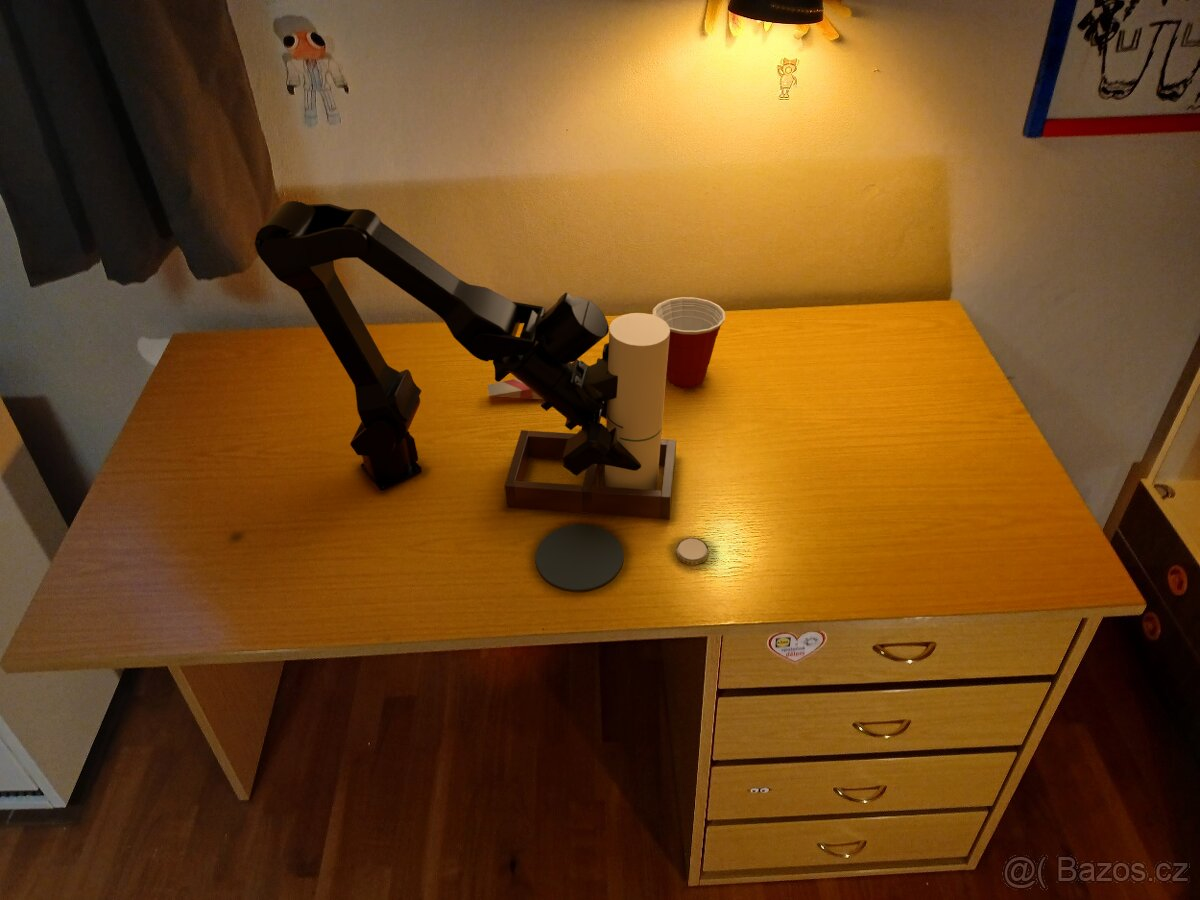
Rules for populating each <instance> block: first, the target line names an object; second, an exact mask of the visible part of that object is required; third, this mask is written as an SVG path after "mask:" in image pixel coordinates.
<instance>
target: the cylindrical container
mask: <svg viewBox="0 0 1200 900" xmlns="http://www.w3.org/2000/svg"><path fill="white" fill-rule="evenodd" d="M669 337H670V328H669V326H668V324H667V323H666V322H665V321H664V320H662V319H661V318H659V317H657V316H654V315H653V314H651V313H644V312H631V313H626V314H622V315H619V316H617V317H616V318H614V319H613V320H612V321H611V322H610V324H609V332H608V343H609V355H608V370H609V372H610V373H611V374H613V375H615V376H618V385H617V398H614V399H611V400H608V401H607V417H606V418H605V420H606V422H605V427H606V428H608V430H609V432H610V431H611V430H612V429H614V428H615V427H616V430H617V440H618V442H620V443H621V444H622V445H623V446H624V447H625V448H626V449H627V450H628V451H629V452H630V453H631V454H632V455H633V456H634V457H635V458H636V459H637V460H638V462H639V463H640V464H641V468H640V469H638V470H637V471H634V470H629V469H624V468H619V467H614V466H608V465H604V478H603V479H604V481H603V482H604V484H603V487H617V488H631V489H646V490H658V479H659V467H660V466H659V457H660V444H661V439H662V429H663V419H664V408H665V395H666V384H667V383H666V382H667V376H666V372H667V360H668V349H669Z"/></svg>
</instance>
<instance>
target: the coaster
mask: <svg viewBox="0 0 1200 900" xmlns="http://www.w3.org/2000/svg"><path fill="white" fill-rule="evenodd" d="M618 539H619V538H617V537H616V536H615V535H614V534H613V533H612V532H611V531H610V530H609V531H608V530H607V529H605V528H603V527H600V526H598V525H593V524H587V523H577V524H575V523H574V524H568V525H565V526H562V527H559V528H557V529H555V530H553V531H551V532H550V533H548V534H547V535H546V536H545V537H544V538H543V539H542V541H540V543H539V544H538V547H537V549H536V551H535V565H536V568H537V571H538V573H539V575H540V576H541V578H543V580H544V581H546V582H547V584H550V585H551V586H552V587H555V588H557V589H560V590H562V591H563V590H564V591H566V592H567V591H569V592H577V593H578V592H580V593H581V592H587V591H593V590H596V589H600V588H601V587H603V586H605V585H607V584H609V583H610V582H611V581H613V580H614V579H615V578H616V576H617V575H618V574H619V573H620V571H621V570H622V568H623V564H624V558H625V557H624V550H623V549H624V548H623V547H622V543H621V542H620V540H618Z"/></svg>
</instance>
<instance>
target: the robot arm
mask: <svg viewBox="0 0 1200 900" xmlns="http://www.w3.org/2000/svg"><path fill="white" fill-rule="evenodd" d="M253 245H254V249H255V251H256V254H257V255H258V257H259V259H261V261H262V262H263V264H264V265H265V266H266V267H267V268H268V269H269V271H270V272H271V273H272V274H273V275H274V277H275V278H276V280H278V281H280V282H281V283H283V284H285V285H287V286H288V287H290V288H292V289H293V290H295V291H297V292H298V293H299V294H300V297H301V298H302V300H303V301H304V303H305V304H306V306H307V308H308V310H309V312H310V313H311V315H312V317H313V318H314V320H315V322H316V323H317V325H318V326H319V328H320V330H321V332H322V333H323V335H324V337H325V338H326V340H327V342H328V343H329V345H330V347H331V348H332V350H333V352H334V354H335V355H336V357H337V358H338V360H339V362H340V364H341V366H342V367H343V369H344V370H345V372H346V374H347V375H348V377H349V378H350V380H351V382H352V384H353V386H354V391H355V400H356V411H357V414H358V416H359V418H360V421H361V422H360V424H359V425H358V428H357V429H356V431H355V433H354V435H353V437H352V439H351V441H350V443H349V446H350V447H351V448H352V449H353V451H354V452H355V454H356V455H357V456H361V457H362V458H361V459H362V461H363V463H361V464H360V469H361V470H362V471H363V472H364V473H365V475H366V476H367V477H368V478H369V479H370V481H371V482H372V483H373V484H374V485H375V486H376V488H378V489H379V491H380V492H381V491H382V492H384V491H386V490H388V489H390V488H393V487H394V486H397V485H398V484H402V483H403V482H405V481H407V480H409V479H411V478H413V477H416V476H417V475H419V474H421V473H422V472H423V468H422V466H421V465H420V464H418V461H419V454H418V449H417V445H416V441H415V438H414V437H413V435H412V434H410V431H409V429H410V427H411V425H412V423H413V420H414V418H415V416H416V414H417V412H418V410H419V407H420V404H421V397H420V395H421V394H422V389H421V388H420V387H418V385H417V384H416V383H415V380H414V378H413V375H412V373H411V370H409V369H404V370H401V371H398V370H397V369H395V368H393V367H392V366H389V364H388V363H387V362H386V360H385V358H384V357H383V355H382V353H381V351H380V350H379V347H378V346H377V343H376V342H375V341H374V339H373V337H372V335H371V333H370V331H369V330H368V327H367V326H366V324H365V323H364V321H363V319H362V317H361V316H360V314H359V312H358V311H357V308H356V306H355V305H354V303H353V302H352V299H351V297H350V296H349V294H348V292H347V290H346V288H345V287H344V285H343V283H342V281H341V280H340V278H339V276H338V274H337V273H336V270H335V269H336V268H335V263H334V261H338V260H341V259H359V260H360V261H361V262H363V263H365V264H366V265H367V266H369V267H370V268H371V269H373V270H374V271H376V272H377V273H378V274H380V275H381V276H383V277H384V278H385V279H387V280H389V282H391V283H393V284H394V285H395V286H397V287H398V288H399V289H401V290H402V291H404V292H405V293H406V294H408V295H409V296H410V297H412V298H414V299H415V300H417V301H418V302H420V303H421V304H422V305H424V307H427V308H428V309H429V310H431V311H432V312H434V313H435V314H436V315H437V316H438V317H440V319H442V321H443V322H444V323H445V325H446V326H447V328H448V330H449V332H450V333H451V335H452V337H453V338H454V339H455V340H456V342H458V343H459V344H460V345H461V347H463V348H464V349H465V350H466V351H467V352H469V354H471V355H472V356H473V357H474V358H476V359H478V360H480V361H482V362H489V361H492V365H493V368H494V380H495V381H496V383H498V382H502V381H503V380H504V379H505V378H506V377H507V376H508V375H509V374H510V375H512V376H513V377H514V378H515V379H516V378H517V379H518V380H520V381H521V382H522V383H523V384H525V385H526V386H527V387H528V388H530V389H531V390H532V391H533V392H535V393H536V394H537V395H538V396H540V397H541V398H542V399H541V402H540V403H541V404H540V407H541V408H542V409H543V410H544V411H546V412H548V411H549V410H550V409H552V408H553V409H554V410H555V411H557V412H558V413H559V414H560V415H562V416H563V417H564V418H565V419H566V421H565V424H564V426H565V427H566V428H567V429H568V430H569V431H573V430H574V429H575V428H576V427H581V429H580V430H579V431H577V433H574V434H575V435H574V436H573V437H571V438H570V439H569V440H567V443H566V447H565V451H564V455H563V460H562V467H563V468H564V469H566V470H567V471H568V472H570V473H571V474H572V475H574V476H576V477H577V476H579V475H580V474H582V473H583V472H584V471H586V470H587V468H588V467H590V466H591V465H593V464H601V466H605V465H608V466H614V467H619V468H624V469H629V470H634V471H637V470H638V469H640V468H641V464H640V463H639V462H638V460H637V459H636V458H635V457H634V456H633V455H632V454H631V453H630V452H629V451H628V450H627V449H626V448H625V447H624V446H623V445H622V444H621V443H620V442H618V440H617V430H616V427H615V428H614V429H612V430H611V431H610V432H609V430H608V428H606V425H604V424H603V423H602V422H601V420H602V418H604V419H606V417H607V401H608V400H611V399H614V398H617V385H618V376H615V375H613V374H611V373H610V372H609V370H608V355H609V342H607V343H604V345H603V349H602V355H601V356H602V358H601V357H598V358H597V359H596V362H595V363H594V364H591V365H589V364H587V363H586V362H584V361H583V360H581V359H580V360H579V358H581V357H582V356H583V355H584V354H586V353H587V352H588V351H590V350H591V348H593V347H594V346H595V345H597V344H598V343H599V342H600V341H602V339H604V338H605V337H606V336H607V335H609V327H610V325H609V323H608V320H607V318H606V316H605V314H604V312H603V311H602V309H601V308H599V306H598V305H597V304H596V303H595V302H594V301H593V300H591V299H590V300H589V299H587V298H584V297H582V296H576V297H573V296H572V295H571V294H570V293H569V292H564V293H563V294H562V295H561V296H560V297H559V298H558V299H557V301H556V303H555V304H554V305H552V306H551V307H550V308H549V309H548V310H547V309H546V308H545V306H542V305H535V304H530V303H524V302H517V301H511V299H509V298H507V297H505V296H503V295H502V294H499V293H498V292H496V291H494V290H492V289H491V288H488V287H485V286H480V285H474V284H470V283H467V282H465V281H463V280H462V279H460V278H459V277H458V276H456V275H455V274H454V273H452V272H450V271H449V270H448V269H446V268H445V267H444V266H442V265H441V264H439V262H437V261H435V260H434V259H433V258H431V257H430V256H429V255H427V254H426V253H424V252H423V251H422V250H420V249H419V248H418V247H416V246H415V245H413V244H412V243H411V242H410V241H408V240H406V239H405V238H404V237H403V236H401V235H400V234H399V233H397V231H394V230H393V229H392V228H391V227H389V226H387V224H385V223H383V222H382V221H381V218H380V217H379V215H378V214H377V213H376V212H374V211H372V210H370V209H366V208H352V209H350V208H345V207H342V206H338V205H335V204H332V203H315V204H313V203H312V204H306V203H304V202H301V201H296V200H291V201H290V200H289V201H285V202H284V203H281V204H280V206H279V207H278V208H277V209H276V210H275V212H274V213H273V214H272V215H271V216H270V218H268V219H267V221H266V222H265V223H264V224H263V225H262V227H261V228H260V229H259V230H258V231H257V232H256V235H255V241H254V243H253ZM546 310H547V311H546ZM521 324H523V326H522V329H521V330H520V331H521V332H520V334H519V336H517V334H518V331H519V328H520V325H521Z"/></svg>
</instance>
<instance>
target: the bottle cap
mask: <svg viewBox="0 0 1200 900" xmlns="http://www.w3.org/2000/svg"><path fill="white" fill-rule="evenodd" d="M675 554H676V557H677V558H678V560H679V561H680V562H682V563H684V564H688V565H699V564H701V563H704V562H705V561H706V560H707V558H708V557H709V546H708V543H706V542H705V541H704V540H703V539H701V538H697V537H686V538H683V539H681V540H680V541H678V543H677V545H676V547H675Z"/></svg>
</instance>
